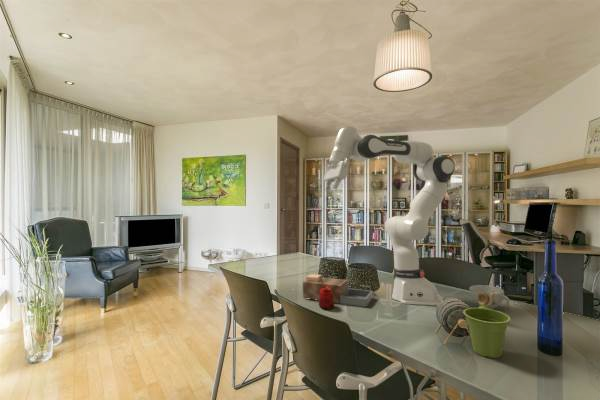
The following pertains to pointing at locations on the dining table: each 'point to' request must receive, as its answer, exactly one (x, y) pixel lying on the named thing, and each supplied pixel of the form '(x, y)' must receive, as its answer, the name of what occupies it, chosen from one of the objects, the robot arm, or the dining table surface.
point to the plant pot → (487, 330)
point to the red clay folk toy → (326, 297)
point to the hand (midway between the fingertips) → (330, 189)
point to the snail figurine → (485, 300)
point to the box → (356, 297)
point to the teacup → (488, 290)
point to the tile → (313, 278)
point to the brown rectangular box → (336, 286)
